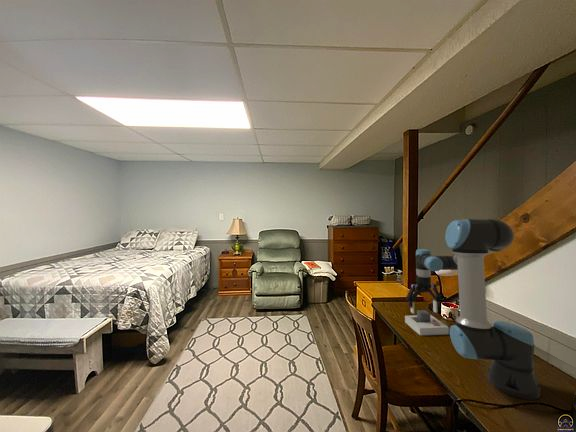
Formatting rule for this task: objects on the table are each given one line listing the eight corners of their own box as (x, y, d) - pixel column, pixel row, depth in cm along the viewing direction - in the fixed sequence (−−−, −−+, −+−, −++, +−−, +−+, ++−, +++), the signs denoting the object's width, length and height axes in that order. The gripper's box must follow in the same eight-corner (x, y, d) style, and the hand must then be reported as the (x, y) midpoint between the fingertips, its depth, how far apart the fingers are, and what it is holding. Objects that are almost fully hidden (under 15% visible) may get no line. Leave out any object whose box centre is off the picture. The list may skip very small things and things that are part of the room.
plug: (430, 327, 143) (430, 313, 142) (421, 327, 142) (421, 313, 142) (425, 323, 148) (425, 310, 147) (417, 323, 147) (417, 310, 147)
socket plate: (448, 334, 135) (448, 326, 135) (420, 335, 135) (419, 327, 135) (430, 321, 151) (430, 313, 151) (405, 322, 151) (404, 314, 151)
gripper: (440, 273, 149) (440, 309, 149) (399, 274, 148) (399, 310, 148) (448, 277, 141) (449, 314, 141) (405, 278, 140) (406, 315, 140)
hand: (423, 312), depth 144 cm, fingers open, 13 cm apart
